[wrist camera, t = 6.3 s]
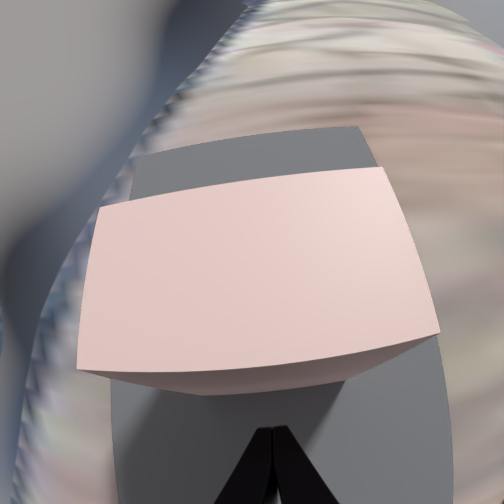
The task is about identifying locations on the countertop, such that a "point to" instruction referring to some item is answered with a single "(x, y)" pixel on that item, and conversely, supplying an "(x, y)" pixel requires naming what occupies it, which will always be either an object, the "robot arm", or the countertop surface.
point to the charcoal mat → (290, 400)
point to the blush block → (254, 285)
